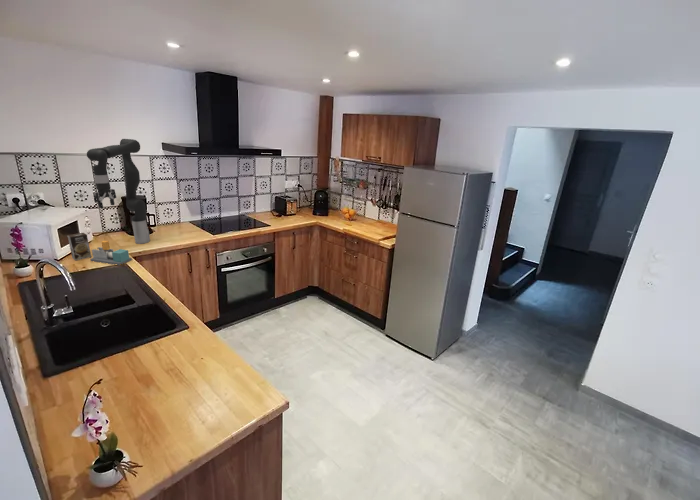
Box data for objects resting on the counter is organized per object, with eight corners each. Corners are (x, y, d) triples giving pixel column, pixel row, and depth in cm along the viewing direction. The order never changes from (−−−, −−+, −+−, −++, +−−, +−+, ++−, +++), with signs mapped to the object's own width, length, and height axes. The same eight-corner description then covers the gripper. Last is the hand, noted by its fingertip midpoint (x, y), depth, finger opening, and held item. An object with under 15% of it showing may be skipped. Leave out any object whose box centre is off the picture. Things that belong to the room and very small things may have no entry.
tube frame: (90, 261, 224) (88, 250, 221) (104, 255, 233) (101, 245, 231) (119, 265, 220) (117, 254, 217) (131, 259, 229) (130, 249, 227)
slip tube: (103, 257, 225) (100, 242, 221) (108, 255, 228) (105, 240, 224) (120, 259, 223) (117, 244, 219) (124, 257, 226) (121, 242, 222)
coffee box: (75, 260, 223) (70, 237, 218) (72, 258, 227) (66, 235, 221) (92, 257, 230) (87, 234, 224) (88, 254, 234) (83, 232, 228)
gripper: (106, 179, 226) (111, 203, 231) (87, 182, 212) (92, 208, 218) (116, 180, 224) (120, 204, 230) (97, 184, 211) (102, 209, 217)
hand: (107, 206), depth 224 cm, fingers open, 8 cm apart
